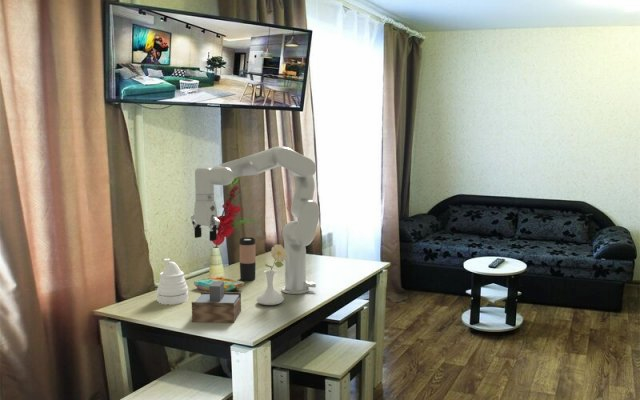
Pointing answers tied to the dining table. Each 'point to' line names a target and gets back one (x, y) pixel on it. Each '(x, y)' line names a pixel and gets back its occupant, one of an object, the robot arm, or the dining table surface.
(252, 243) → the travel mug
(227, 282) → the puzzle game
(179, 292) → the honey pot
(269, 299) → the flower in vase
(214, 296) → the cover plate
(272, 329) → the dining table surface
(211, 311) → the walnut box
